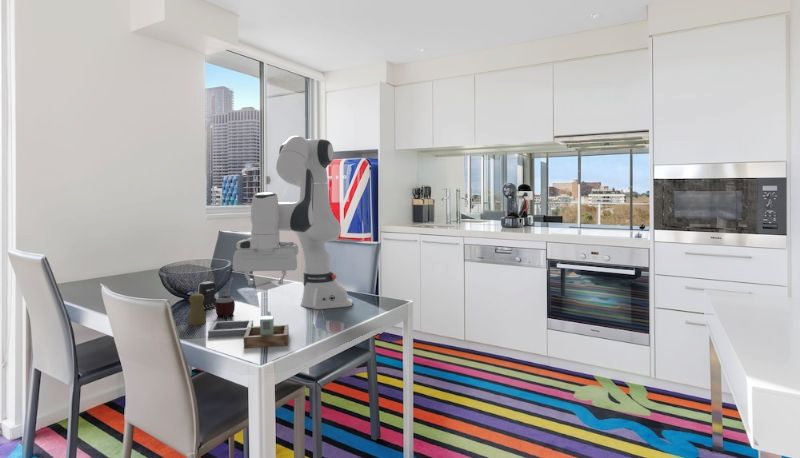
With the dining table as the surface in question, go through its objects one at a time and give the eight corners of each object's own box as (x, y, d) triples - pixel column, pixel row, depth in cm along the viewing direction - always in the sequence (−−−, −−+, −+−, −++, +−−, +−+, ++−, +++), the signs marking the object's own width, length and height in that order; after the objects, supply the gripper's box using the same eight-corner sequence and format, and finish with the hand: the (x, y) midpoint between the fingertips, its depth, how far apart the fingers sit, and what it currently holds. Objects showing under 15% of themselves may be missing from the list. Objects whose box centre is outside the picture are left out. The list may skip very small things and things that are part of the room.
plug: (273, 338, 151) (273, 315, 151) (273, 343, 147) (272, 319, 146) (261, 339, 150) (261, 316, 150) (260, 344, 146) (259, 320, 145)
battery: (203, 311, 184) (202, 284, 183) (197, 310, 186) (196, 283, 185) (218, 308, 190) (217, 281, 189) (212, 306, 192) (212, 280, 191)
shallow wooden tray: (288, 334, 156) (288, 324, 156) (287, 345, 145) (287, 334, 144) (248, 336, 153) (247, 326, 153) (243, 348, 142) (243, 337, 142)
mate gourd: (216, 320, 172) (215, 281, 171) (214, 315, 179) (213, 278, 178) (237, 318, 175) (236, 280, 174) (234, 313, 182) (233, 276, 181)
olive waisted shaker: (200, 319, 173) (199, 291, 172) (209, 322, 169) (208, 293, 168) (185, 323, 168) (184, 294, 167) (194, 326, 164) (193, 296, 163)
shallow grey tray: (253, 325, 166) (253, 319, 165) (249, 335, 155) (249, 329, 154) (214, 327, 163) (214, 321, 163) (208, 337, 152) (208, 331, 152)
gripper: (298, 241, 151) (298, 281, 152) (234, 241, 147) (234, 283, 148) (298, 243, 145) (298, 285, 146) (231, 243, 141) (231, 287, 142)
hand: (265, 284), depth 147 cm, fingers open, 8 cm apart
